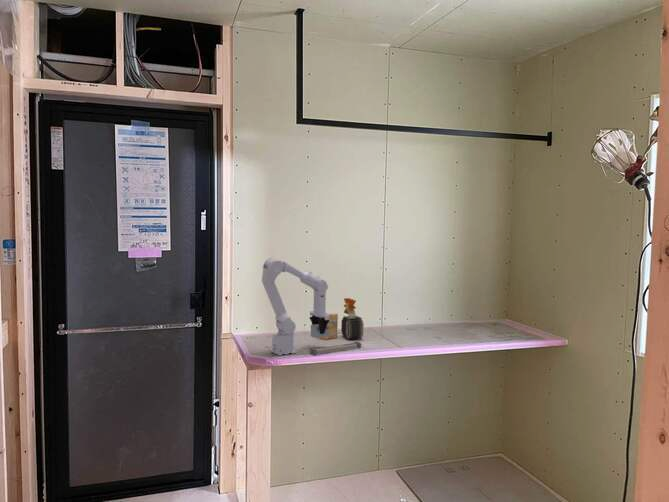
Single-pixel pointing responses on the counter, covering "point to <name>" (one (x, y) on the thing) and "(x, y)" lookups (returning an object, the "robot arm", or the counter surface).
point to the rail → (335, 348)
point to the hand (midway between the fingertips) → (319, 332)
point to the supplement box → (332, 326)
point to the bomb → (351, 322)
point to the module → (318, 331)
